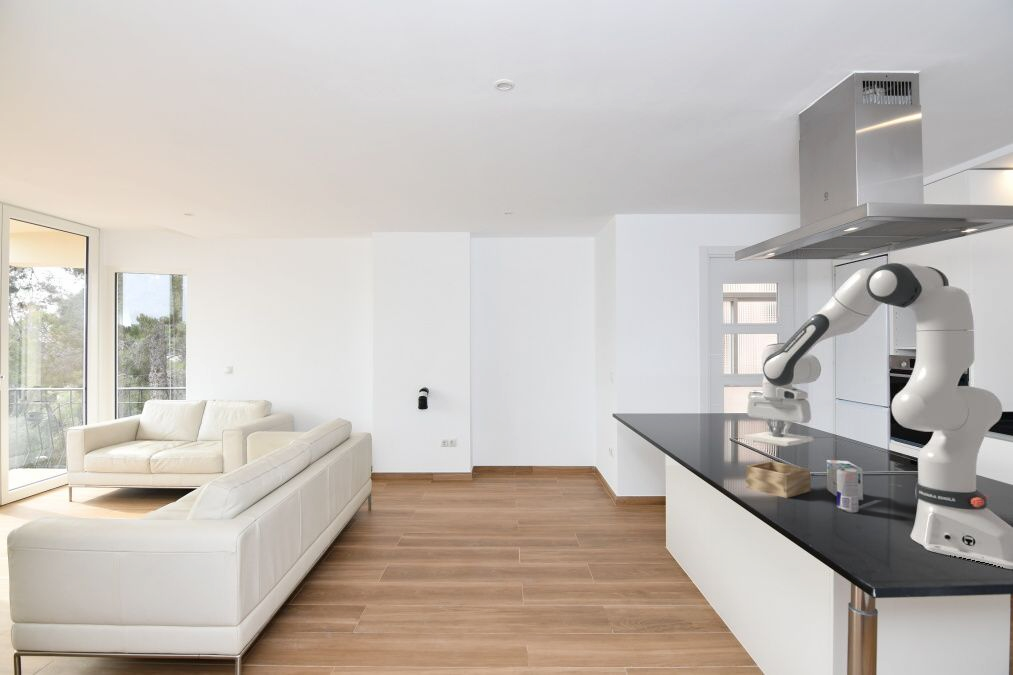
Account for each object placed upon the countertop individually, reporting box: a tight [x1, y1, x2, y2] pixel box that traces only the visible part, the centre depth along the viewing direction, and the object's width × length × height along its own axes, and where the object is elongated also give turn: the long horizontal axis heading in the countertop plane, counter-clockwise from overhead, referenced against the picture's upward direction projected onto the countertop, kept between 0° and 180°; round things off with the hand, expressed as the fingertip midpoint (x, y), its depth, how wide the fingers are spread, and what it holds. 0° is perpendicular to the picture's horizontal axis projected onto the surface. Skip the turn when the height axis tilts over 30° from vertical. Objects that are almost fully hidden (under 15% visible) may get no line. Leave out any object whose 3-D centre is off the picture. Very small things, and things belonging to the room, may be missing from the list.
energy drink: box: [836, 468, 859, 514], centre depth 156 cm, size 5×5×12 cm
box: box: [745, 460, 812, 499], centre depth 175 cm, size 14×14×8 cm
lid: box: [743, 426, 814, 448], centre depth 175 cm, size 15×15×5 cm
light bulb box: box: [826, 459, 864, 501], centre depth 169 cm, size 11×7×11 cm, turn 168°
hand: (777, 433), depth 175 cm, fingers closed on lid, 3 cm apart
